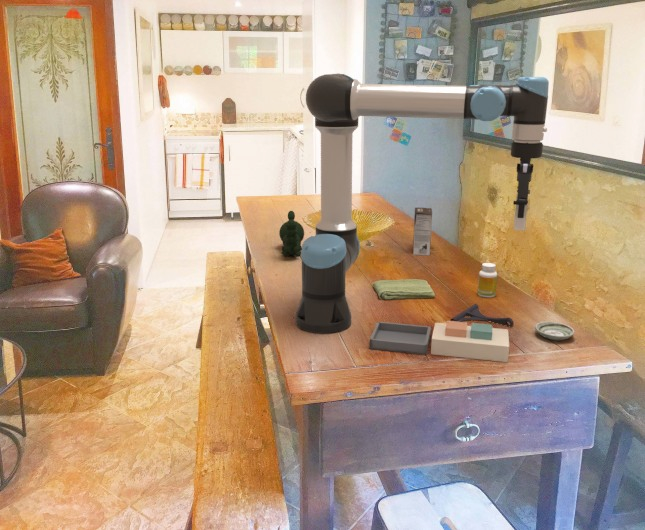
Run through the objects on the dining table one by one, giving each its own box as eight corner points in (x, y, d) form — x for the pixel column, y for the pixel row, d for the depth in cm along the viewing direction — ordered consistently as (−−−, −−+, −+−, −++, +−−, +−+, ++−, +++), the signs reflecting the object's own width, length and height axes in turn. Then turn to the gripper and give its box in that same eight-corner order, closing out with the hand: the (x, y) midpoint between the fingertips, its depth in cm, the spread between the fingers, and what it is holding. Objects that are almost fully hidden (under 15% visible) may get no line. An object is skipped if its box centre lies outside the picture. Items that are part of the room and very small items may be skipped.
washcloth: (436, 300, 191) (437, 290, 190) (379, 302, 189) (379, 292, 188) (425, 285, 203) (425, 276, 202) (371, 287, 201) (371, 278, 200)
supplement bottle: (496, 298, 191) (498, 267, 188) (477, 297, 192) (480, 266, 189) (495, 292, 196) (497, 262, 193) (477, 291, 197) (479, 261, 194)
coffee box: (412, 248, 244) (414, 207, 239) (429, 248, 243) (432, 207, 238) (412, 254, 236) (414, 212, 231) (430, 255, 235) (432, 212, 230)
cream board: (430, 354, 154) (431, 338, 152) (434, 336, 163) (435, 322, 162) (507, 362, 149) (509, 346, 148) (506, 344, 159) (508, 329, 158)
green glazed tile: (470, 338, 153) (470, 330, 152) (470, 330, 158) (471, 322, 157) (491, 340, 152) (492, 332, 151) (491, 332, 156) (492, 324, 156)
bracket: (501, 337, 165) (502, 327, 164) (449, 323, 174) (450, 314, 173) (522, 321, 176) (523, 312, 175) (473, 309, 185) (473, 300, 184)
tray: (369, 348, 156) (369, 339, 156) (377, 330, 168) (377, 321, 167) (426, 354, 153) (426, 345, 152) (430, 335, 164) (431, 326, 164)
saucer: (552, 347, 158) (553, 338, 157) (526, 333, 167) (527, 324, 166) (581, 341, 162) (583, 332, 161) (554, 327, 170) (555, 318, 170)
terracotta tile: (445, 335, 154) (445, 328, 154) (446, 327, 159) (446, 320, 158) (466, 337, 153) (466, 330, 153) (466, 329, 158) (467, 322, 157)
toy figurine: (305, 266, 227) (304, 241, 250) (304, 215, 220) (303, 195, 243) (278, 266, 227) (280, 242, 250) (277, 216, 220) (279, 195, 243)
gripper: (544, 147, 146) (535, 236, 152) (542, 136, 168) (534, 214, 175) (510, 146, 148) (502, 234, 154) (512, 135, 171) (506, 213, 177)
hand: (519, 224), depth 164 cm, fingers open, 13 cm apart
